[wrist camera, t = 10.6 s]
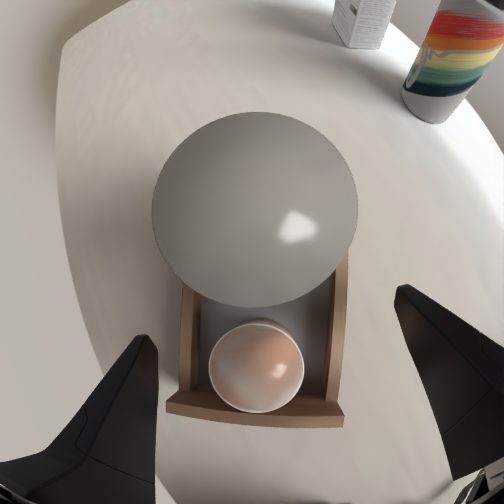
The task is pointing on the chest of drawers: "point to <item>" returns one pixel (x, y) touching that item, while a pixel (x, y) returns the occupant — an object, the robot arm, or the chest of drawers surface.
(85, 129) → the chest of drawers surface
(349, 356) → the chest of drawers surface
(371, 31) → the skincare box
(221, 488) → the chest of drawers surface
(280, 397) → the jar
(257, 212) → the mint green grey canister
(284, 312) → the wooden tray
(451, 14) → the lotion bottle
